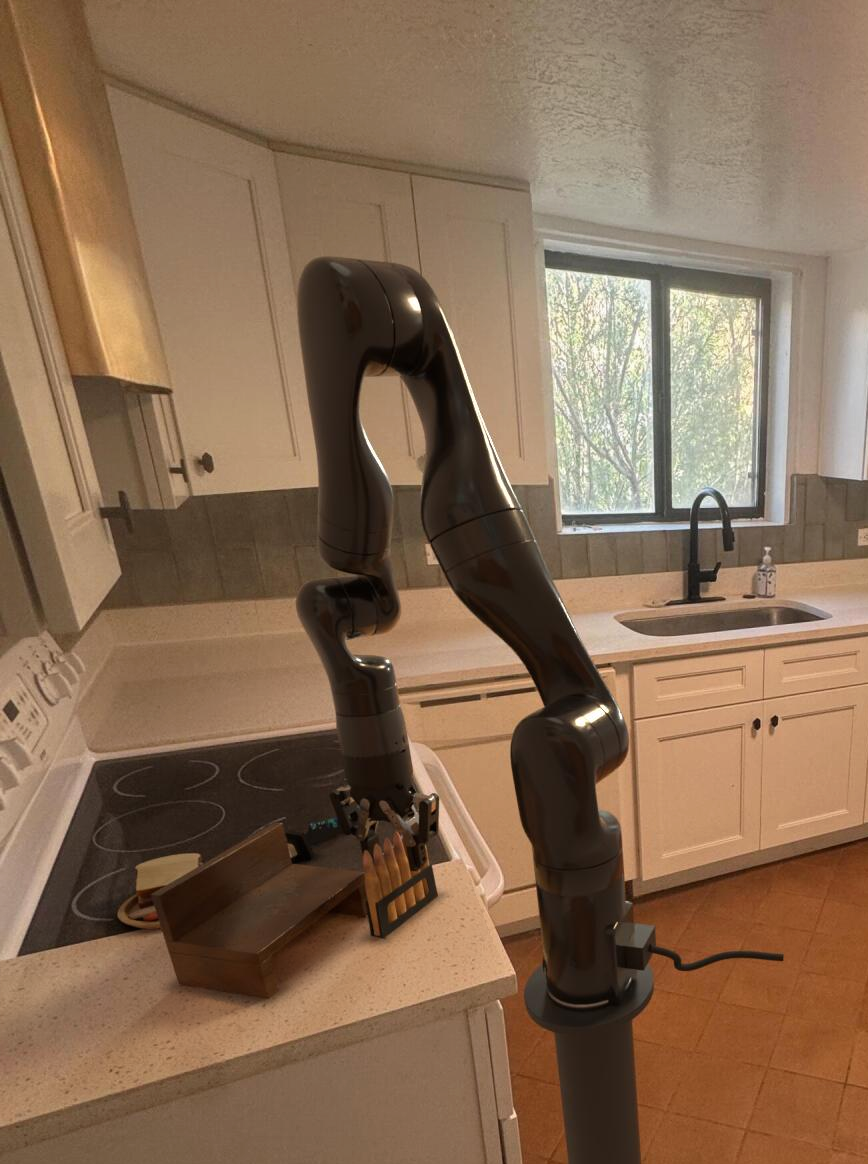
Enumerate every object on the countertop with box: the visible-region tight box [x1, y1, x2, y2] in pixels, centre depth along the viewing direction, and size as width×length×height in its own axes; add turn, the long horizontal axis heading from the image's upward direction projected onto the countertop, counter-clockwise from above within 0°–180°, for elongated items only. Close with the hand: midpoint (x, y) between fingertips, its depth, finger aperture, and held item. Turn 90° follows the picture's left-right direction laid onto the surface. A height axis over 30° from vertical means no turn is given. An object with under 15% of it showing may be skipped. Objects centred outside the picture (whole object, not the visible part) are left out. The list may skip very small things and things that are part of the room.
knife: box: [285, 804, 360, 860], centre depth 119 cm, size 31×3×4 cm, turn 162°
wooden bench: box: [151, 822, 368, 999], centre depth 95 cm, size 12×18×12 cm, turn 168°
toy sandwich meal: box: [117, 852, 203, 930], centre depth 105 cm, size 12×14×5 cm
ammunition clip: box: [362, 830, 439, 939], centre depth 101 cm, size 11×2×12 cm, turn 163°
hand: (396, 865), depth 100 cm, fingers open, 5 cm apart
